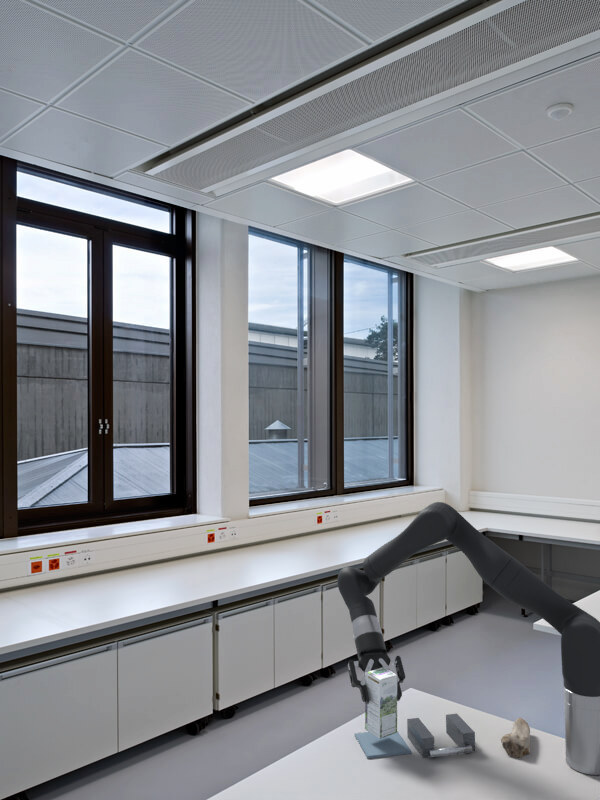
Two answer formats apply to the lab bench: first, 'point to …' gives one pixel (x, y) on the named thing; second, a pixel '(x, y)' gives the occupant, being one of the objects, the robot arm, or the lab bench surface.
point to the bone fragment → (517, 739)
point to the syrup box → (381, 702)
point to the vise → (453, 728)
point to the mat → (382, 745)
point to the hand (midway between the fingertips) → (383, 701)
